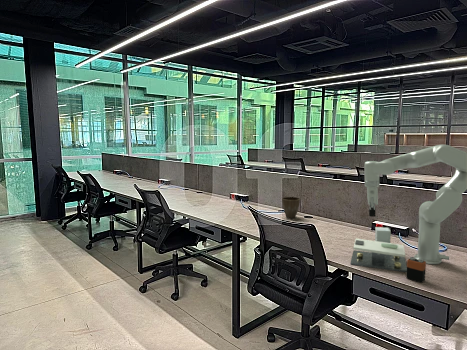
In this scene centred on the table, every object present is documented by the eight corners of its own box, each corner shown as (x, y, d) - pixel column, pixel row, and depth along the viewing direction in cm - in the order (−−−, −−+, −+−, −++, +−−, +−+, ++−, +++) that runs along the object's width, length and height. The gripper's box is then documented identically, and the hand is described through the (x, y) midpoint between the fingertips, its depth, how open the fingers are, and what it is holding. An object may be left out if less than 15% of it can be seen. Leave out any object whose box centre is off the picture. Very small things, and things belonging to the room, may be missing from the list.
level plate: (403, 249, 171) (403, 241, 171) (404, 259, 157) (405, 251, 156) (355, 242, 181) (355, 234, 181) (353, 251, 167) (353, 243, 166)
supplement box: (387, 248, 190) (388, 227, 188) (390, 252, 182) (391, 231, 181) (374, 247, 192) (375, 226, 190) (376, 251, 185) (376, 230, 183)
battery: (409, 275, 152) (410, 255, 151) (425, 280, 147) (426, 259, 146) (405, 278, 149) (406, 258, 148) (422, 283, 144) (423, 261, 143)
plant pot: (289, 214, 277) (289, 196, 275) (303, 217, 265) (303, 198, 264) (278, 217, 267) (278, 198, 266) (291, 220, 256) (292, 200, 254)
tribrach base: (404, 258, 173) (404, 248, 173) (407, 272, 155) (407, 261, 155) (353, 251, 184) (353, 242, 184) (350, 264, 166) (350, 254, 166)
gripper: (379, 185, 168) (380, 219, 170) (378, 181, 182) (379, 213, 184) (364, 185, 171) (365, 219, 173) (364, 181, 185) (365, 213, 187)
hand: (372, 216), depth 178 cm, fingers closed
